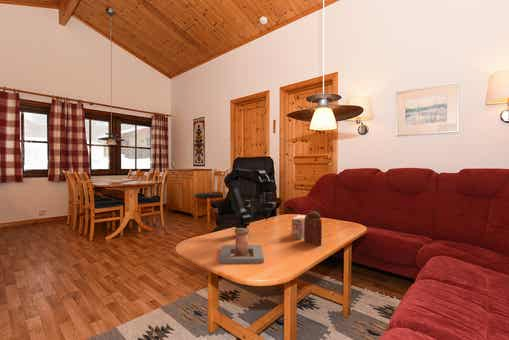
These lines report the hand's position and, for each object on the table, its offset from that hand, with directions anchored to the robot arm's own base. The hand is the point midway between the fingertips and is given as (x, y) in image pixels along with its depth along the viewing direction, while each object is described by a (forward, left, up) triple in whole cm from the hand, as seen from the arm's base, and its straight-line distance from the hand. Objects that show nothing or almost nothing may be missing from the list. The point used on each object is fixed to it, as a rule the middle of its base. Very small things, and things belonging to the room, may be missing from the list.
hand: (259, 219), depth 144 cm
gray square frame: (+2, -24, -13) cm, 27 cm away
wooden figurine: (+28, +13, -13) cm, 34 cm away
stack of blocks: (+18, +26, -13) cm, 34 cm away
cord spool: (+3, -25, -13) cm, 28 cm away
